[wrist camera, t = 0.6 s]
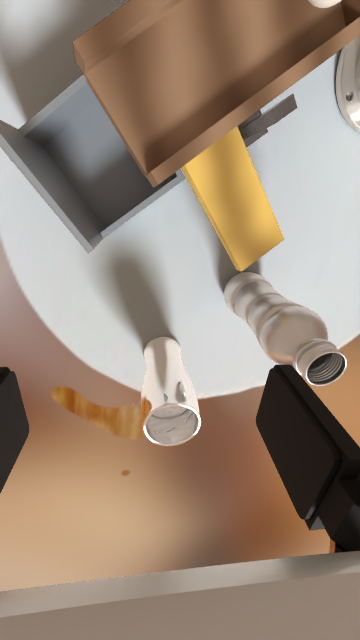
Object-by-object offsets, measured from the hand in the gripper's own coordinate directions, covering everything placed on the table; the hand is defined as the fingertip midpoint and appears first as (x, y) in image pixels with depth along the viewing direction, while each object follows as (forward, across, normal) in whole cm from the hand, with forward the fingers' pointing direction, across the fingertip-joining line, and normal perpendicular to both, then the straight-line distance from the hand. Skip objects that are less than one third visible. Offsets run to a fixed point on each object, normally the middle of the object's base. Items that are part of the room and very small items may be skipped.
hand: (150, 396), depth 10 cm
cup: (+28, +4, -9) cm, 30 cm away
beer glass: (+28, -3, +17) cm, 33 cm away
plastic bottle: (+28, -14, +6) cm, 32 cm away
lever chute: (+22, -8, -12) cm, 27 cm away
